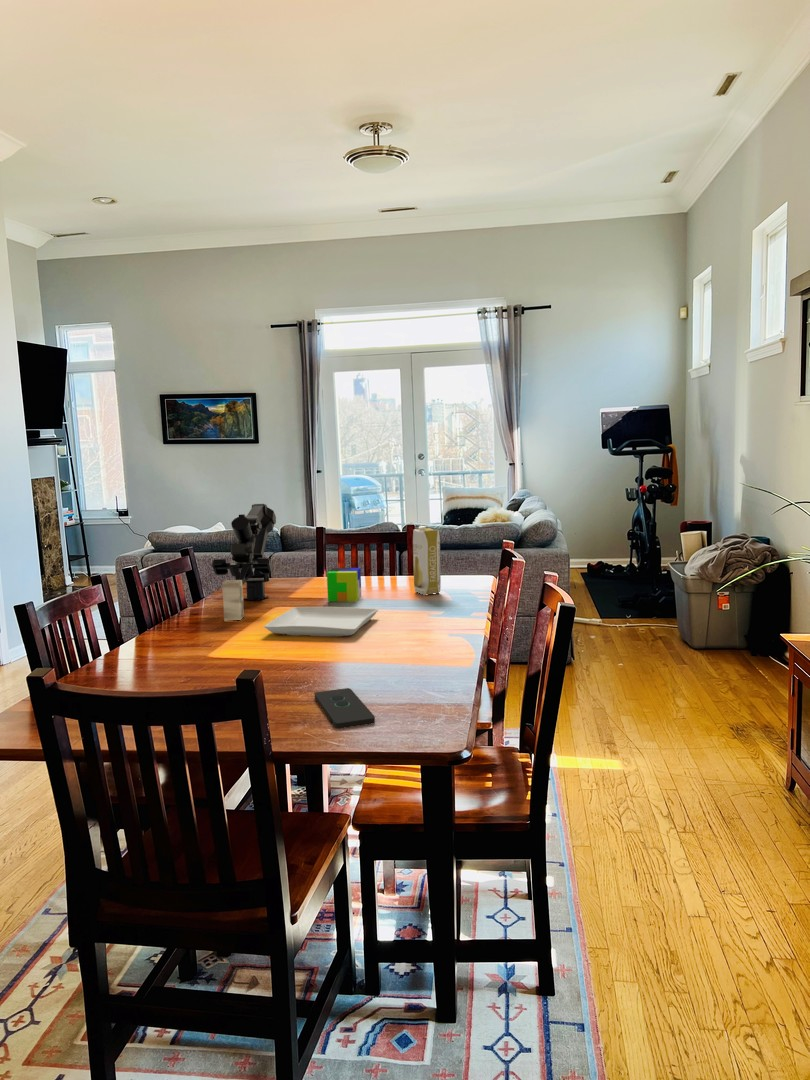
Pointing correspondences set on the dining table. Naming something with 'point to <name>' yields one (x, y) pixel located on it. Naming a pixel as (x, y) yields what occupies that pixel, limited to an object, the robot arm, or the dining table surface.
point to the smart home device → (344, 708)
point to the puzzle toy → (344, 584)
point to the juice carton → (426, 560)
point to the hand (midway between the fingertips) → (238, 587)
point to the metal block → (233, 600)
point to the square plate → (321, 621)
